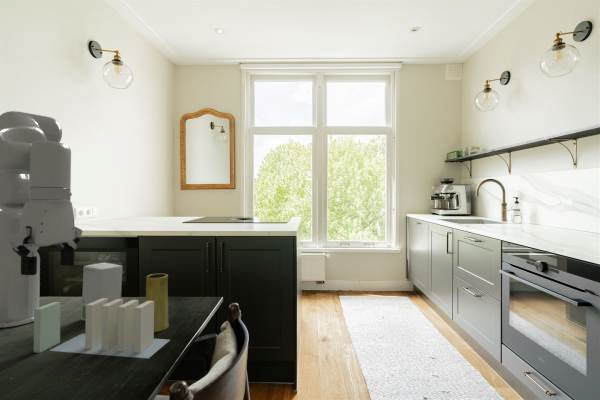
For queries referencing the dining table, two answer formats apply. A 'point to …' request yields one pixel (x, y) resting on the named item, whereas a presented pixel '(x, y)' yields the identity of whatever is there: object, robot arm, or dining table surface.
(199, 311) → the dining table surface
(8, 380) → the dining table surface
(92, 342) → the tile
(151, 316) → the tile
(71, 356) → the dining table surface
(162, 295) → the vase
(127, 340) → the tile
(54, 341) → the sage green rectangular block
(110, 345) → the tile
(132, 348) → the runner mat
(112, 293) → the skincare box
